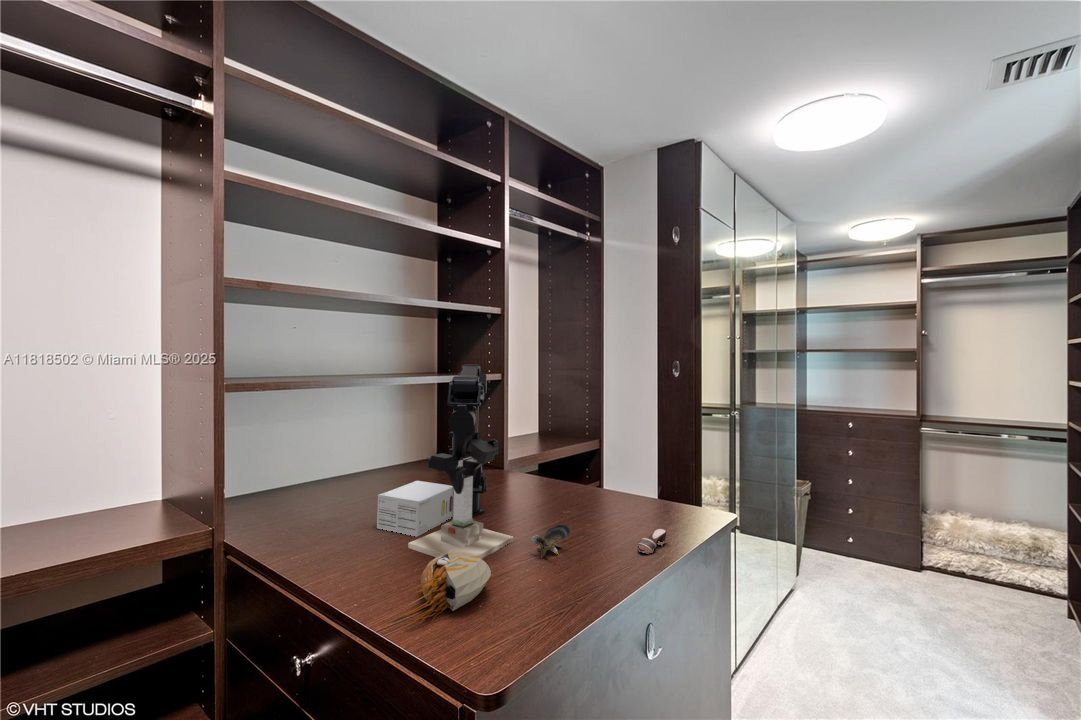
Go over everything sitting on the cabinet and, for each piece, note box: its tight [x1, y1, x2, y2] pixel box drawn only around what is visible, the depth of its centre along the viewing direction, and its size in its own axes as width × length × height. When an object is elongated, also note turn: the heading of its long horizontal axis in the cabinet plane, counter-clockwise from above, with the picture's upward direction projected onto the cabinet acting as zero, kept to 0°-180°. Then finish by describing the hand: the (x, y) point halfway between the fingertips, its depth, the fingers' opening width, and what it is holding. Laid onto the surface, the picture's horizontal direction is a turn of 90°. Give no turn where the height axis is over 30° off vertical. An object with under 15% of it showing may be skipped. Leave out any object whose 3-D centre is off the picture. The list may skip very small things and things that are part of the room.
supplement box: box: [376, 480, 454, 538], centre depth 135 cm, size 17×13×9 cm
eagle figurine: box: [530, 524, 571, 559], centre depth 117 cm, size 8×7×9 cm
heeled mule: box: [637, 527, 667, 551], centre depth 121 cm, size 4×11×4 cm, turn 135°
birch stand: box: [407, 520, 514, 560], centre depth 120 cm, size 18×18×5 cm
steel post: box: [451, 474, 474, 527], centre depth 120 cm, size 4×4×12 cm
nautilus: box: [402, 551, 492, 625], centre depth 93 cm, size 8×22×15 cm
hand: (463, 491), depth 120 cm, fingers closed on steel post, 3 cm apart
